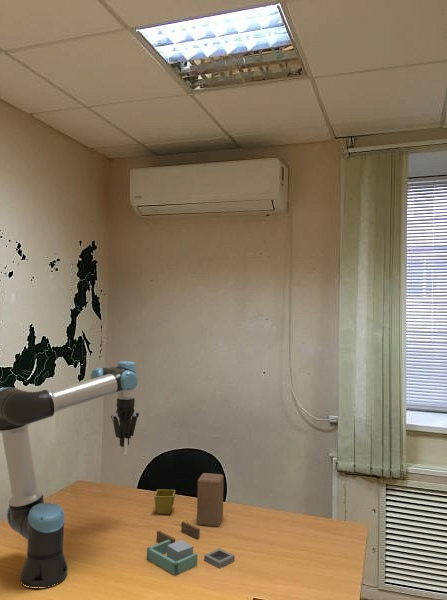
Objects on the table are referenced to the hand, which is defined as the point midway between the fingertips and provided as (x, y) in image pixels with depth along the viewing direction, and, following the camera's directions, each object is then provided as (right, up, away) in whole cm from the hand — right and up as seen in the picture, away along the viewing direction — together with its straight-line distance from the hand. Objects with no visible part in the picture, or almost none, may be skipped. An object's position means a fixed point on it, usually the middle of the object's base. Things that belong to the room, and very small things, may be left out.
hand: (124, 453), depth 206 cm
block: (+26, -32, -24) cm, 48 cm away
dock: (+23, -32, -27) cm, 48 cm away
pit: (+41, -32, -25) cm, 58 cm away
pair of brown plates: (+24, -32, -9) cm, 41 cm away
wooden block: (+36, -34, +10) cm, 50 cm away
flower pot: (+15, -34, +19) cm, 42 cm away
